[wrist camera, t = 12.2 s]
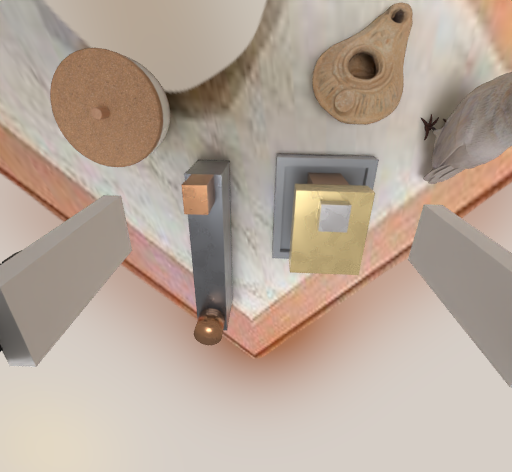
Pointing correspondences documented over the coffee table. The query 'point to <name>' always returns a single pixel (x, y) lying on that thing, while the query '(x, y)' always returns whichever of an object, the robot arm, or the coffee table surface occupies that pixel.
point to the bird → (473, 130)
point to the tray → (298, 176)
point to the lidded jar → (109, 107)
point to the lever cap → (329, 228)
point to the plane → (210, 245)
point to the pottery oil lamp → (365, 70)
